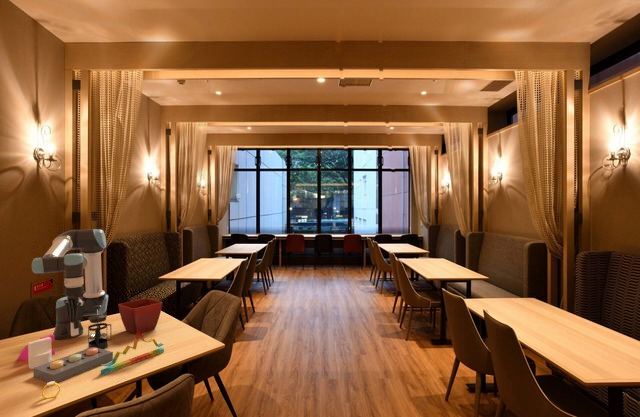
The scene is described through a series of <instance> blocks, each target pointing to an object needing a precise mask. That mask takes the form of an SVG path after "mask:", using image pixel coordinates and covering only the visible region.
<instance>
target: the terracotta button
mask: <svg viewBox="0 0 640 417" xmlns="http://www.w3.org/2000/svg"><path fill="white" fill-rule="evenodd" d="M87 349H88V348H87ZM85 350H86V349H85ZM95 354H98V348H90V349H88V350H86V356H89V357H90V356H93V355H95Z"/></svg>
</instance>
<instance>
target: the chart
mask: <svg viewBox="0 0 640 417" xmlns="http://www.w3.org/2000/svg"><path fill="white" fill-rule="evenodd" d="M134 338H135V339H134V341H133V345H132V346H131V345H129V344H128V345H126V346H125V348H124V350H123V352H122V351H121V352H120V351H116V353H115V355H114V356H113V360H111V361H109V362H107V364H106V363H104V364H101V365H100V366H103V367H105V368H102V369H100V374H101V375H103V376H105V375H108V374H110V373H113V372H115V371H118V370H121V369H123V368H126V367H129V366H131V365H133V364H136V363H139V362H142V361H143V360H146V359H149V358H151V357H154V356H157V355H159V354H163V353H165V349H164V347H163V346H164V343H162V342H160V343H157V341H156V339H155V338H149V339H146V340H145V338H144V335H143V334H142V332H140V331H138V330H137V334H135V337H134ZM139 338H140V339H141V341H142V342H144V343H151V342H153V343H154V345H155V346H156V347H157V348H155V349H153V350H151V351H148V352H146V353H143V354H140V355H136V356H135V357H132V358H129V359H127V360H124V361H121V362H118V363H116V362H117V360H118V359H119V356H120V354H121V355H127V353H128V352H129V350H130V348H131V349H133V350H136V349H137V345H138V342H139Z"/></svg>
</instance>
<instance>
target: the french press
mask: <svg viewBox="0 0 640 417" xmlns="http://www.w3.org/2000/svg"><path fill="white" fill-rule="evenodd" d="M101 306H102V305H97V306H94V307H93V308H97V315H90V316H89V317H88V318H87V320H88V321H89V323H91V325H89V326H87V331H88V332H87V337H88V339H87V344H88V346H87V349H89V348H91V347H96V348H100V349H103V350H105V348H108V346H109V344H108V342H110V341H112V338H109V339H108V338H107V337H108V333H107V332H101V331H102V330H105V329H108V326H110V330H109V331H110V336H112V324H111V323H107V322H106V323H105V321H107V317H108V315H107V314H105V313H103V314H98V309H99V307H101ZM90 332H94V334H92V335H91V334H90ZM105 337H106V338H105Z"/></svg>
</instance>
